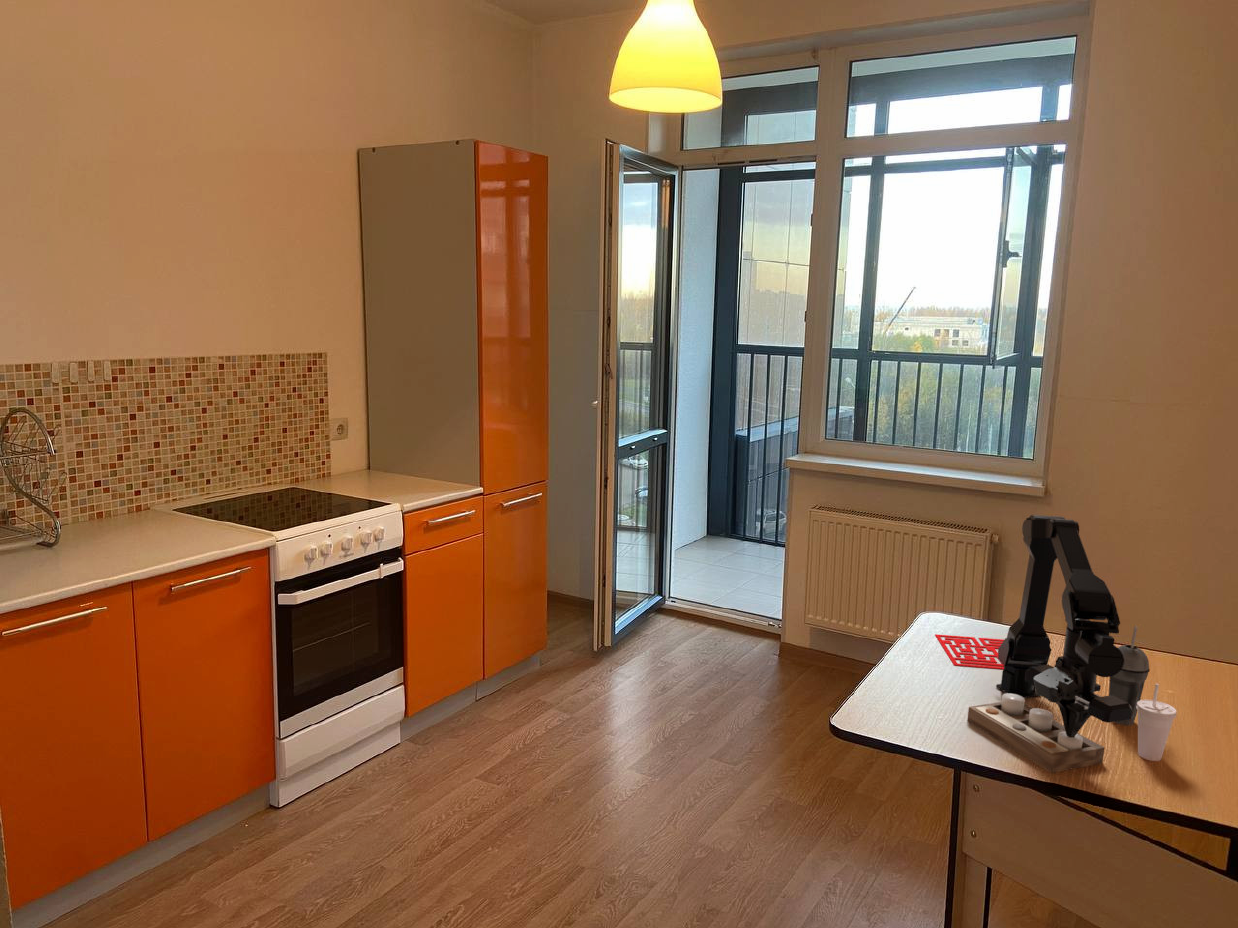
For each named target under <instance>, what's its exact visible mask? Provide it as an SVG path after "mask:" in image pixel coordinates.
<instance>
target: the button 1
mask: <svg viewBox="0 0 1238 928" xmlns="http://www.w3.org/2000/svg"><path fill="white" fill-rule="evenodd" d="M1001 697H1002V698H1001V702H1002V705H1001V711H1003V712H1004V713H1006V714H1008V715H1010V716H1020V715H1023V710H1024V704H1025V701H1026V698H1023V697H1022V696H1019V695H1016V694H1011V693H1006V692H1005V693H1003V694H1002V696H1001Z"/></svg>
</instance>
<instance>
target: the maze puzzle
mask: <svg viewBox="0 0 1238 928" xmlns="http://www.w3.org/2000/svg"><path fill="white" fill-rule="evenodd" d="M934 636H935V638H936V639H937V641H938V642H939V644H940V646H941V647H942V649H943V650H944V652H945V654H946V656H947V657H948V659H949V660H950V662H951V663H952V664H953V666H954V667H963V668H965V667H967V668H976V669H978V668H979V669H989V670H990V669H991V670H1002V671H1003V670H1004V665H1003V664H1002V663H1001V662H1000V660H999V659H998V648H999V647H1000V645H1001V644H1002V643H1003V641H1004V640H1005V638H1004V639H1003V638H1002V639H1001V638H988V637H978V640H979V641H978V640H977V638H976V637H974V636H960V635H949V634H938V633H937V634H934ZM942 638H944V639H942ZM970 640H971V641H972V642H973V644H972V642H971V641H970ZM952 641H953V642H954V644H953V642H952ZM986 641H988V643H987V642H986ZM979 642H981V643H979ZM962 644H963V645H964V647H963V646H962ZM981 644H982V645H981ZM947 645H948V646H949V647H950V649H951V651H952V652H953V654H954V655H953V654H952V653H951V651H950V650H949V648H948V646H947ZM956 648H958V649H959V651H958V650H957V649H956ZM972 648H974V650H975V652H974V651H973V649H972ZM985 650H986V651H987V652H992V653H993V654H989V653H983V652H985ZM982 651H983V652H982ZM962 656H963V657H962ZM974 656H975V657H976V658H975V657H974ZM986 657H987V658H989V659H987V658H986ZM995 658H996V659H997V660H998V661H999V662H1000V663H998V661H997V660H996V659H995ZM957 661H959V663H958V662H957Z"/></svg>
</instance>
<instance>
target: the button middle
mask: <svg viewBox="0 0 1238 928" xmlns="http://www.w3.org/2000/svg"><path fill="white" fill-rule="evenodd" d="M1032 708H1033V709H1030V714H1029V722H1028V726H1029V727H1031V728H1032V729H1034V730H1036V731H1038V732H1048V731H1051V729H1052V721H1053V720H1054V714H1053V713H1052V712H1051V711H1049V710H1047V709H1044V708H1039V707H1035V708H1034V707H1032Z"/></svg>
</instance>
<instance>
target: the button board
mask: <svg viewBox="0 0 1238 928" xmlns="http://www.w3.org/2000/svg"><path fill="white" fill-rule="evenodd" d="M1001 705H1002V701H998V702H993V703H986V704H979V705H973V706H972V705H971V706H969V707H968V712H967V719H966V721H967V722H968V723H969V724H971V725H973V726H975V727H976V728H978V729H980V731H983V732H984V733H986V734H988V735H989V736H991V737H992V738H994V739H996V740H997V741H999V742H1001V743H1002V744H1003V745H1006V746H1007V747H1009V748H1011V749H1012V750H1014V751H1015V752H1016V753H1018V754H1020V755H1022V756H1024V757H1025V758H1027V759H1028V760H1030V761H1031V762H1033V763H1035V764H1036V765H1038V766H1039V767H1041V768H1042V769H1045V770H1046V771H1048V772H1050V773H1053V774H1054V773H1058V772H1063V771H1068V770H1073V769H1078V768H1079V769H1080V768H1085V767H1089V766H1094V765H1099V764H1100V765H1101V764H1103V763H1104V754H1105V747H1104V746H1103V745H1101V744H1098V743H1097V742H1096V741H1093V740H1091V739H1090V738H1087V737H1086V736H1084V735H1083V734H1080V733H1079V732H1078V733H1077V734H1078V735H1080V736H1081V737H1082V738H1083V742H1082V748H1081V749H1076V750H1069V749H1067V748H1065V747H1064V746H1062V745H1060V744H1058V743H1057V741H1058V734H1059V732H1063V731H1065V727H1064V724H1062V723H1060V722H1059V721H1057V720H1055V719H1053V721H1052V729H1051V731H1048V732H1038V731H1036V730H1034V729H1032V728H1031V727H1029V726H1028V722H1029V714H1030V709H1033V708H1034V707H1031V706H1029V705H1028V704H1025V703H1024V710H1023V715H1020V716H1010V715H1008V714H1006V713H1004V712H1003V711H1001Z"/></svg>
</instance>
